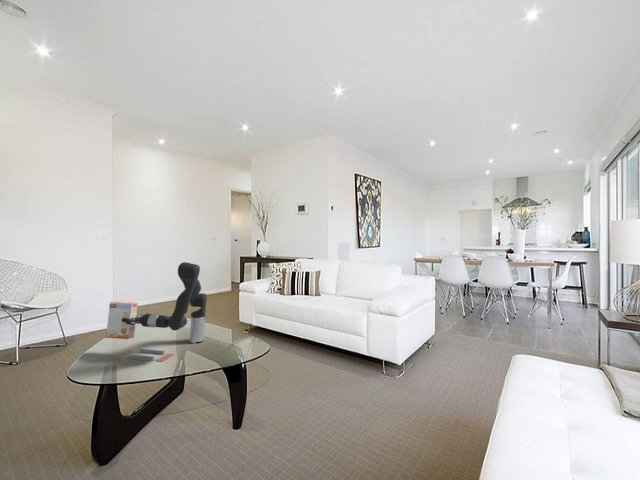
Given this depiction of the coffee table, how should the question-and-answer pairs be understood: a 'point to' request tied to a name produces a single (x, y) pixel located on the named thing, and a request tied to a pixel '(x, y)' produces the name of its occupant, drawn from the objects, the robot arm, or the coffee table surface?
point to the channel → (145, 356)
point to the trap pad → (164, 357)
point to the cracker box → (115, 320)
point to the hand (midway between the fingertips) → (126, 318)
